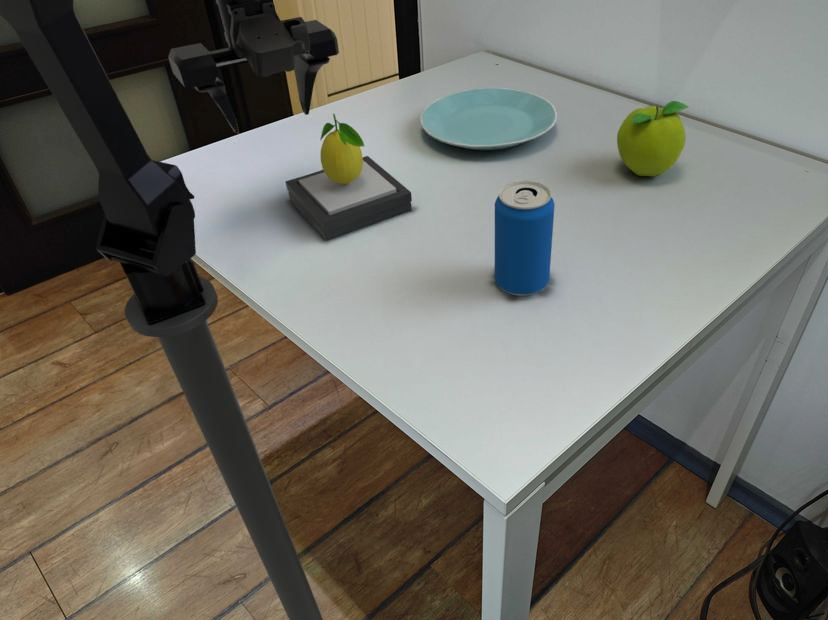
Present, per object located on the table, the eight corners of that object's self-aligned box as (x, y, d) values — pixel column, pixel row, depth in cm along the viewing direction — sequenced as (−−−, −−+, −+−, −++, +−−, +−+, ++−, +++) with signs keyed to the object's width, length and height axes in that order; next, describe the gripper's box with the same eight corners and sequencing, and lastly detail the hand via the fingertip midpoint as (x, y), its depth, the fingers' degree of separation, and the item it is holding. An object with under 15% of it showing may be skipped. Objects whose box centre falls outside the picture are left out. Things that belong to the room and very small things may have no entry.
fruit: (691, 179, 96) (706, 112, 89) (634, 192, 94) (645, 124, 87) (656, 152, 102) (668, 87, 96) (602, 163, 100) (610, 97, 93)
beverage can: (554, 272, 81) (561, 183, 73) (541, 304, 76) (547, 213, 68) (503, 263, 83) (504, 175, 74) (487, 294, 78) (486, 204, 70)
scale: (327, 242, 87) (323, 222, 85) (289, 200, 95) (284, 181, 93) (413, 211, 92) (411, 191, 90) (370, 173, 100) (367, 155, 98)
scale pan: (330, 221, 87) (328, 211, 86) (300, 190, 93) (298, 180, 92) (397, 198, 91) (396, 188, 90) (364, 169, 97) (363, 159, 96)
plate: (397, 149, 105) (395, 132, 103) (453, 95, 120) (452, 79, 118) (530, 172, 99) (531, 155, 97) (572, 112, 113) (573, 95, 112)
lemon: (371, 193, 89) (361, 121, 82) (327, 199, 88) (313, 127, 81) (366, 170, 94) (356, 100, 87) (324, 175, 93) (310, 105, 86)
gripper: (173, 20, 65) (217, 167, 76) (348, -12, 72) (366, 126, 83) (147, -6, 72) (191, 132, 83) (309, -33, 79) (330, 97, 90)
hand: (271, 122), depth 84 cm, fingers open, 9 cm apart
